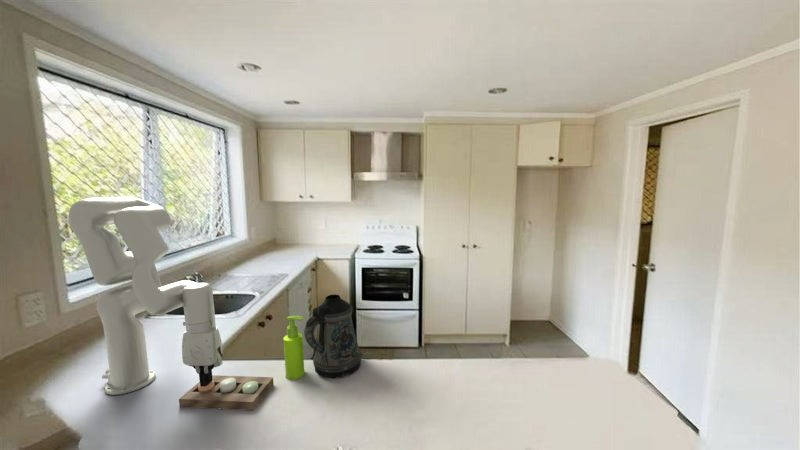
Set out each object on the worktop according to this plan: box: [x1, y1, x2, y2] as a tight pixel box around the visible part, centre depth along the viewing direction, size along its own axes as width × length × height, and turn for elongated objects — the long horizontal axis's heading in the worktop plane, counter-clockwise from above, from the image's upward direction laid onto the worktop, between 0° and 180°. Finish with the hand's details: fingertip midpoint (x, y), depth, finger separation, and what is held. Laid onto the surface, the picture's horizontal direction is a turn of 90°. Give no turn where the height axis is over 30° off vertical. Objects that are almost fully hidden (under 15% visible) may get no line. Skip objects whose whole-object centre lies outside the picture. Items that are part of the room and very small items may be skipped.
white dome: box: [220, 378, 236, 393], centre depth 97 cm, size 4×4×2 cm
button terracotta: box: [198, 380, 215, 392], centre depth 98 cm, size 4×4×2 cm
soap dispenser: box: [283, 315, 305, 380], centre depth 107 cm, size 6×7×20 cm
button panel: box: [178, 374, 274, 411], centre depth 98 cm, size 22×12×2 cm, turn 85°
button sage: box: [243, 381, 258, 394], centre depth 97 cm, size 4×4×2 cm
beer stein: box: [303, 294, 363, 380], centre depth 110 cm, size 16×19×25 cm
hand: (206, 383), depth 98 cm, fingers closed
